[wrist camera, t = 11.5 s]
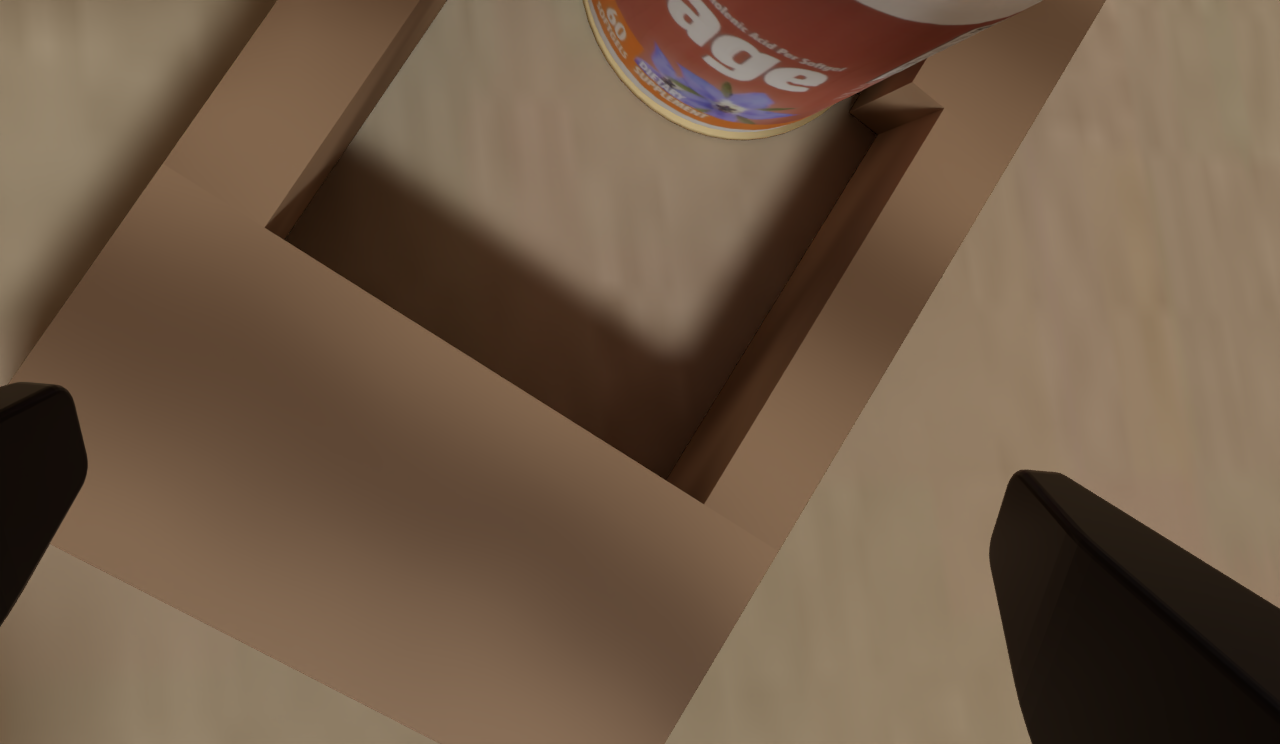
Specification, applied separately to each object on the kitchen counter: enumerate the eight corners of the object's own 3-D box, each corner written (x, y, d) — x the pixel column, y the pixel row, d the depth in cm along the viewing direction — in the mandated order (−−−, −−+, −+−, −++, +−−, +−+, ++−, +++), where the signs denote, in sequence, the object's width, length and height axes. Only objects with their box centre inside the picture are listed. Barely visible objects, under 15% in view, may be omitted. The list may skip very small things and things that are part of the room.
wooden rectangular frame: (584, 767, 19) (612, 831, 17) (5, 462, 16) (-64, 485, 14) (1064, -30, 21) (1151, -78, 19) (623, -427, 18) (658, -544, 16)
